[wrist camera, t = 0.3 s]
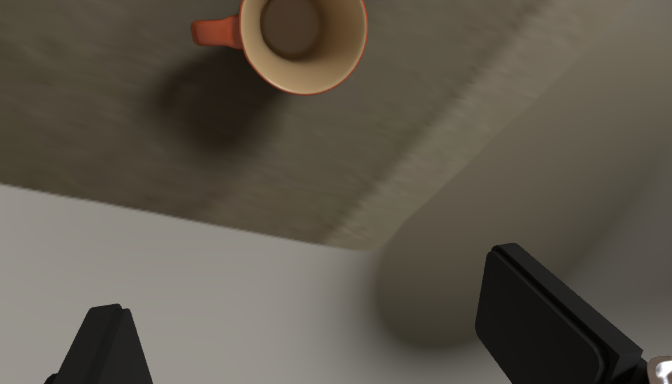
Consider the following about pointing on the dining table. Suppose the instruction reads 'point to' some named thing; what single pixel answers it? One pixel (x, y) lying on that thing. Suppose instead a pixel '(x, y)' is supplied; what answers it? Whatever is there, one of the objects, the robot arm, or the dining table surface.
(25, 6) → the dining table surface
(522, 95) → the dining table surface
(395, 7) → the dining table surface
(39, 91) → the dining table surface
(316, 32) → the mug
